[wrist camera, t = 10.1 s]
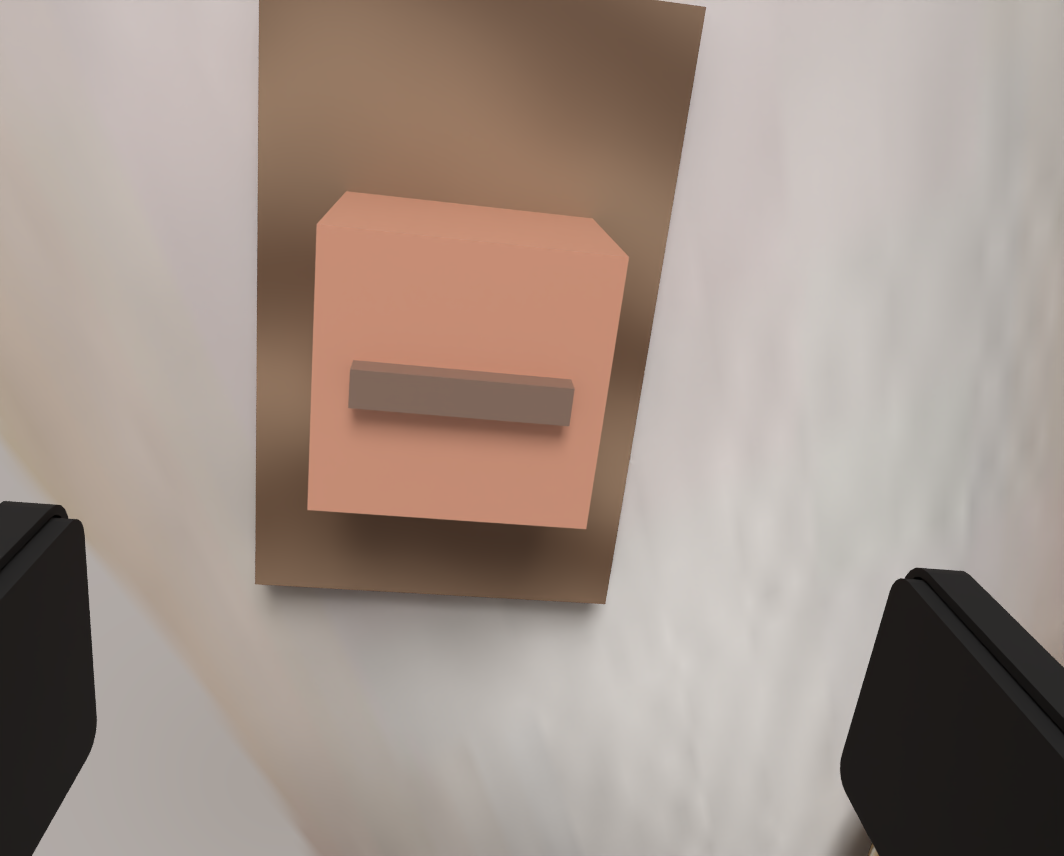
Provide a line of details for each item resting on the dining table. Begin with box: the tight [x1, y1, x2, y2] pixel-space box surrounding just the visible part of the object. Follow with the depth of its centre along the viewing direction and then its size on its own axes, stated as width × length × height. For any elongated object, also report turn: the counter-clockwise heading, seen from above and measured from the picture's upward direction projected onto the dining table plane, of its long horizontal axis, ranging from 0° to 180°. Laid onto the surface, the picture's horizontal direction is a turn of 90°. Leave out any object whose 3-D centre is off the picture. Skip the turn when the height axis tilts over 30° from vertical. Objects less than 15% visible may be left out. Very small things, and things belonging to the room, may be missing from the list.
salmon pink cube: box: [307, 191, 629, 529], centre depth 20 cm, size 6×6×6 cm
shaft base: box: [255, 0, 706, 604], centre depth 22 cm, size 16×10×5 cm, turn 173°
